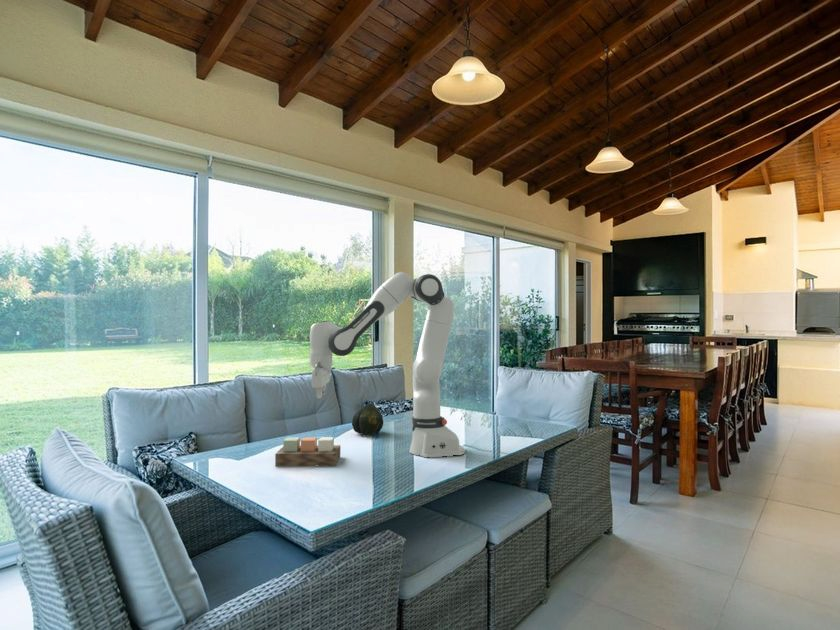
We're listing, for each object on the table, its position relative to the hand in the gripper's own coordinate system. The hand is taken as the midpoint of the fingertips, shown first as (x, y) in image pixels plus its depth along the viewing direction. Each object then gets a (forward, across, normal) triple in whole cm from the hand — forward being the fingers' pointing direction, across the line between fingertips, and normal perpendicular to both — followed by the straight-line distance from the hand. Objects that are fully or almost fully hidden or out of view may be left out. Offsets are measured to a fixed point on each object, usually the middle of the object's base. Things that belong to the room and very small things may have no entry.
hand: (321, 396), depth 194 cm
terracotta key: (+20, -8, +3) cm, 21 cm away
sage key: (+20, -8, +10) cm, 23 cm away
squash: (+23, +37, -15) cm, 46 cm away
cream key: (+20, -8, -4) cm, 22 cm away
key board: (+23, -8, +3) cm, 25 cm away
